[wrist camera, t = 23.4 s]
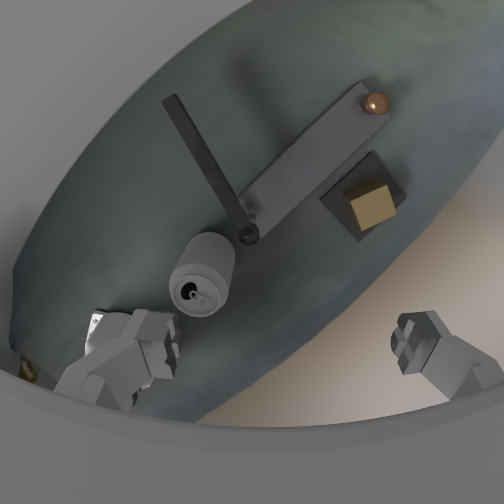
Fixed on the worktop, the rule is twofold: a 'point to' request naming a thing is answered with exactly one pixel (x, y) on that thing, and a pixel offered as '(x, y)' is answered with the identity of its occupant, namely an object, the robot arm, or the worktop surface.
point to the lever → (211, 170)
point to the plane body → (313, 155)
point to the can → (203, 275)
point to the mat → (354, 178)
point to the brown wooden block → (370, 203)
